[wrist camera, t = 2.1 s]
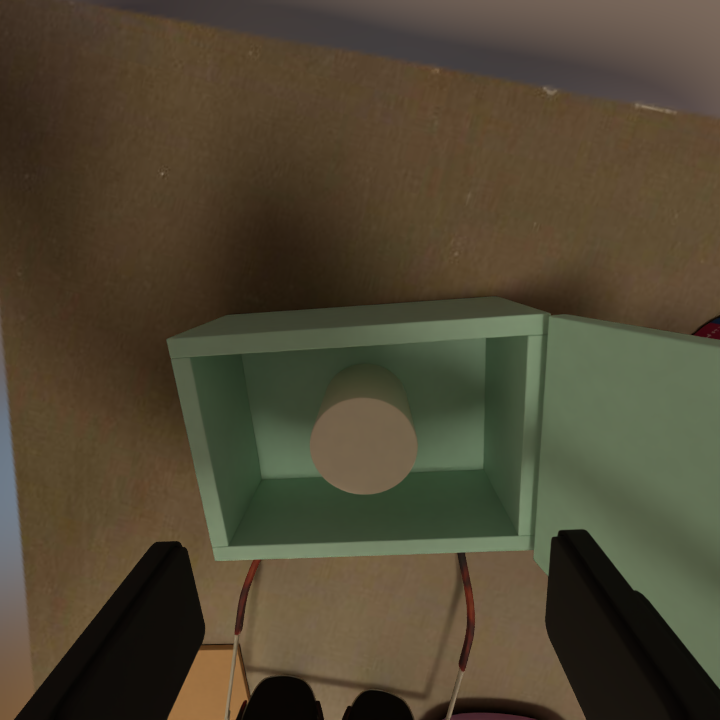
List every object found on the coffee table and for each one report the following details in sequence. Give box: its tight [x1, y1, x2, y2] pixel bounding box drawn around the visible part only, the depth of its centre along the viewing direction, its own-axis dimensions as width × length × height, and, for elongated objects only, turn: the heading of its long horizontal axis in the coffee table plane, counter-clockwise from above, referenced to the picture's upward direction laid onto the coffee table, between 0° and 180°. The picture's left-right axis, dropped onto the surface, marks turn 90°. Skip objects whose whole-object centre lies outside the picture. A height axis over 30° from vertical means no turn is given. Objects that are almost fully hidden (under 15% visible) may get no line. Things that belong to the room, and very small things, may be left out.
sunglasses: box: [224, 552, 475, 720], centre depth 23 cm, size 14×16×5 cm
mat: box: [167, 644, 250, 720], centre depth 28 cm, size 9×9×1 cm
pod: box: [310, 364, 418, 494], centre depth 18 cm, size 5×5×5 cm
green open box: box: [167, 296, 551, 561], centre depth 18 cm, size 15×11×6 cm
